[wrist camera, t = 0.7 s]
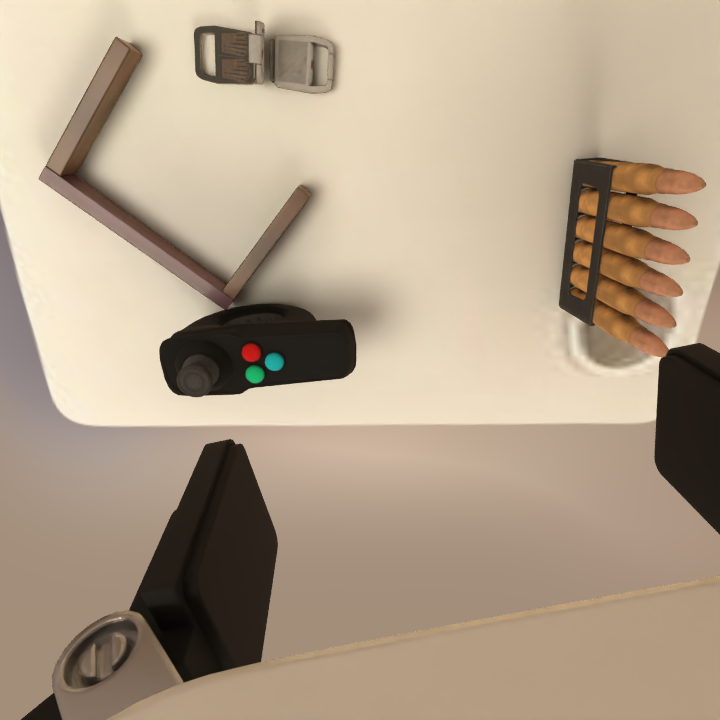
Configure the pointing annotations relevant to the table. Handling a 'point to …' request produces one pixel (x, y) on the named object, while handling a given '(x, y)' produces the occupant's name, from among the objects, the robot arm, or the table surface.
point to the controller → (256, 350)
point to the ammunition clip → (622, 247)
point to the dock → (91, 201)
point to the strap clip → (246, 58)
